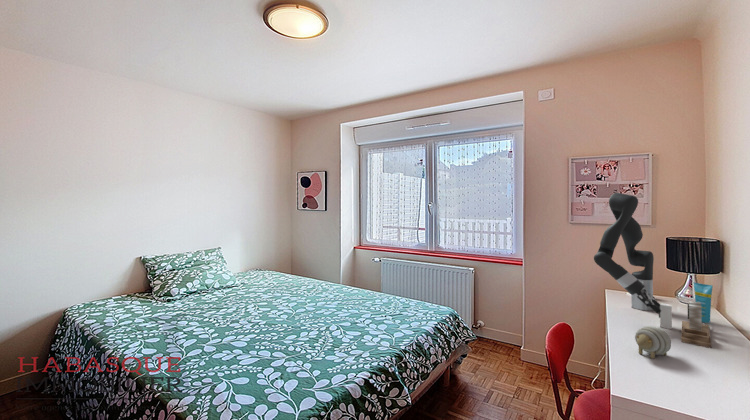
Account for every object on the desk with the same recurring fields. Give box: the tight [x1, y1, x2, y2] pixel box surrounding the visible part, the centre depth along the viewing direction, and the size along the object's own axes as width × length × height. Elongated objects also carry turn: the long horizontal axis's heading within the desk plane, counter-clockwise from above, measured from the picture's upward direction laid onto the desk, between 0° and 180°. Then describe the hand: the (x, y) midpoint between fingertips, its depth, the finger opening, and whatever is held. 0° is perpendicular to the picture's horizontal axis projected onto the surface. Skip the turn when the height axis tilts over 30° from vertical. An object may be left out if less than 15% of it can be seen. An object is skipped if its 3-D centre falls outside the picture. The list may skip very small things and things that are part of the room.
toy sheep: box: [634, 326, 672, 360], centre depth 126 cm, size 11×17×11 cm, turn 114°
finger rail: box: [680, 300, 712, 349], centre depth 144 cm, size 9×28×12 cm, turn 135°
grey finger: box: [658, 303, 673, 330], centre depth 153 cm, size 4×3×11 cm, turn 45°
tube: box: [693, 282, 713, 324], centre depth 159 cm, size 7×5×19 cm, turn 23°
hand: (660, 310), depth 154 cm, fingers open, 8 cm apart
